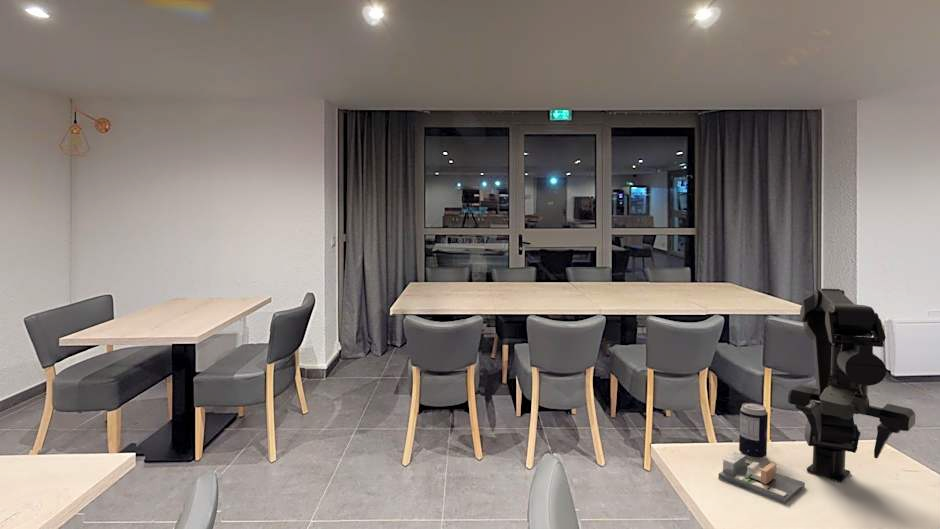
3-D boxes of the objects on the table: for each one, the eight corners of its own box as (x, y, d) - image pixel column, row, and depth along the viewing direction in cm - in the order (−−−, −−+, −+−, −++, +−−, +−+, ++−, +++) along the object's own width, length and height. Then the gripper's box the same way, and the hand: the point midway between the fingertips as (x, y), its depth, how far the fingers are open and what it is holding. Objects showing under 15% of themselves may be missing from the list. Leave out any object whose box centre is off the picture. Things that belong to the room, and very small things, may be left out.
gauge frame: (739, 464, 111) (739, 449, 111) (804, 487, 101) (805, 471, 101) (718, 478, 105) (718, 462, 105) (785, 504, 95) (786, 487, 95)
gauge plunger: (755, 469, 106) (755, 457, 106) (775, 476, 103) (776, 464, 103) (741, 479, 102) (741, 467, 102) (762, 487, 99) (762, 474, 99)
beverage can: (770, 462, 112) (771, 411, 112) (743, 460, 114) (745, 410, 113) (761, 451, 118) (762, 402, 117) (735, 449, 119) (736, 401, 118)
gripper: (778, 367, 96) (776, 444, 97) (902, 391, 81) (898, 481, 82) (799, 358, 102) (797, 430, 104) (917, 378, 88) (913, 462, 89)
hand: (846, 449), depth 94 cm, fingers open, 9 cm apart
